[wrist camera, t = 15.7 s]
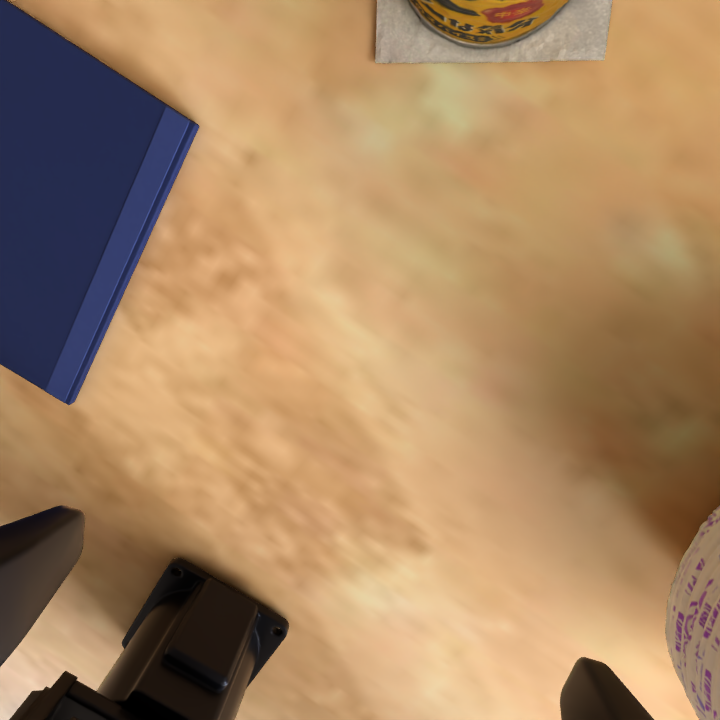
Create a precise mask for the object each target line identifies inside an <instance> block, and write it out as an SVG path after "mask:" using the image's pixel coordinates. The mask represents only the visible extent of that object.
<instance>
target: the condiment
mask: <svg viewBox="0 0 720 720" xmlns="http://www.w3.org/2000/svg"><path fill="white" fill-rule="evenodd" d="M611 7H612V0H377V26H376V57H375V63H487V62H538V61H545V62H547V61H553V60H555V61H576V60H604V59H605V52H606V45H607V37H608V30H609V22H610V15H611Z"/></svg>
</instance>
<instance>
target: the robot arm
mask: <svg viewBox="0 0 720 720" xmlns="http://www.w3.org/2000/svg"><path fill="white" fill-rule="evenodd" d="M84 525H85V515H84V513H83V512H82V511H81V510H78V509H75V508H71V507H68V506H63V505H61V506H57V507H54V508H51V509H48V510H45V511H42V512H40V513H37V514H34V515H31V516H28V517H25V518H23V519H20V520H17V521H14V522H11V523H9V524H6V525H3V526H0V667H1V665H2V664H3V663H4V662H5V661H6V659H7V658H8V657H9V656H10V655H11V653H12V652H13V651H14V650H15V648H16V647H17V646H18V645H19V643H20V642H21V641H22V640H23V638H24V637H25V635H26V634H27V633H28V631H29V630H30V629H31V627H32V626H33V624H34V623H35V622H36V620H37V619H38V617H39V616H40V614H41V613H42V611H43V610H44V609H45V607H46V606H47V604H48V603H49V601H50V600H51V599H52V597H53V596H54V594H55V593H56V591H57V590H58V588H59V587H60V586H61V584H62V583H63V581H64V580H65V578H66V577H67V576H68V574H69V573H70V571H71V570H72V568H73V567H74V565H75V564H76V563H77V561H78V559H79V557H80V555H81V552H82V549H83V539H84ZM176 568H178V569H180V570H181V571H179V570H177V569H176ZM276 627H278V628H280V629H278V628H276ZM288 629H289V623H288V621H287V620H286V619H285V618H283V617H281V616H280V615H278V614H276V613H275V612H273V611H271V610H269V609H268V608H266V607H264V606H263V605H261V604H259V603H258V602H256V601H254V600H252V599H251V598H249V597H247V596H246V595H244V594H242V593H241V592H239V591H237V590H235V589H234V588H232V587H230V586H229V585H227V584H225V583H224V582H222V581H220V580H218V579H217V578H215V577H213V576H212V575H210V574H208V573H207V572H205V571H203V570H202V569H200V568H198V567H196V566H195V565H193V564H191V563H190V562H188V561H186V560H184V559H182V558H175V559H173V560H172V561H171V562H170V564H169V565H168V567H167V568H166V570H165V571H164V573H163V575H162V576H161V578H160V580H159V581H158V583H157V585H156V586H155V588H154V590H153V591H152V593H151V594H150V596H149V598H148V599H147V601H146V603H145V604H144V606H143V608H142V609H141V611H140V613H139V614H138V616H137V618H136V619H135V621H134V622H133V624H132V626H131V627H130V629H129V631H128V632H127V634H126V636H125V637H124V639H123V641H122V646H123V647H124V651H123V652H122V654H121V655H120V657H119V658H118V660H117V661H116V663H115V664H114V666H113V667H112V669H111V670H110V672H109V673H108V675H107V676H106V678H105V679H104V681H103V682H102V684H101V685H100V687H99V688H98V690H97V691H95V690H93V689H91V688H89V687H88V686H86V685H84V684H82V683H80V682H79V681H77V678H78V677H76V676H74V675H72V674H71V673H69V672H67V671H65V672H64V673H63V674H62V675H61V676H60V678H59V679H58V680H57V681H56V683H55V684H54V685H53V686H52V687H51V688H48V687H45V688H44V690H41V691H32V692H31V694H30V695H29V696H28V697H27V699H26V700H25V701H24V702H23V704H22V705H21V706H20V707H19V709H18V710H17V711H16V712H15V714H14V715H13V716H12V717H11V718H10V720H235V717H236V714H237V712H238V709H239V706H240V703H241V701H242V698H243V695H244V692H245V690H246V688H247V687H248V685H249V684H250V683H251V681H252V680H253V679H254V678H255V676H256V675H257V674H258V672H259V671H260V670H261V668H262V667H263V666H264V664H265V663H266V662H267V661H268V659H269V658H270V657H271V655H272V654H273V653H274V651H275V650H276V649H277V647H278V646H279V645H280V644H281V642H282V641H283V640H284V638H285V637H286V635H287V632H288ZM560 708H561V718H562V720H654V719H653V718H652V717H651V715H650V714H649V713H648V712H647V711H646V710H645V708H644V707H643V706H642V705H641V704H640V703H639V701H638V700H637V699H636V698H635V697H634V696H633V695H632V693H631V692H630V691H629V690H628V689H627V688H626V686H625V685H624V684H623V683H622V682H621V681H620V679H619V678H618V677H617V676H616V675H615V674H614V672H613V671H612V670H611V669H610V668H609V667H608V666H607V665H606V664H604V663H602V662H599V661H596V660H593V659H589V658H586V657H581V658H580V659H578V660H577V662H576V663H575V665H574V667H573V669H572V671H571V673H570V675H569V677H568V679H567V681H566V683H565V685H564V687H563V689H562V692H561V697H560Z"/></svg>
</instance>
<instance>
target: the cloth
mask: <svg viewBox="0 0 720 720" xmlns="http://www.w3.org/2000/svg"><path fill="white" fill-rule="evenodd" d="M198 128H199V125H198V124H196V123H195V122H193V121H192V120H190V119H188V118H187V117H185V116H184V115H182V114H181V113H179V112H178V111H176V110H175V109H173V108H172V107H170V106H168V105H167V104H165V103H164V102H162V101H161V100H159V99H158V98H156V97H155V96H153V95H152V94H150V93H148V92H147V91H145V90H144V89H142V88H141V87H139V86H138V85H136V84H135V83H133V82H131V81H130V80H128V79H127V78H125V77H124V76H122V75H121V74H119V73H118V72H116V71H115V70H113V69H111V68H110V67H108V66H107V65H105V64H104V63H102V62H101V61H99V60H98V59H96V58H95V57H93V56H91V55H90V54H88V53H87V52H85V51H84V50H82V49H81V48H79V47H78V46H76V45H75V44H73V43H71V42H70V41H68V40H67V39H65V38H64V37H62V36H61V35H59V34H58V33H56V32H55V31H53V30H51V29H50V28H48V27H47V26H45V25H44V24H42V23H41V22H39V21H38V20H36V19H35V18H33V17H31V16H30V15H28V14H27V13H25V12H24V11H22V10H21V9H19V8H18V7H16V6H14V5H13V4H11V3H10V2H8V1H7V0H0V364H1V365H3V366H4V367H6V368H8V369H9V370H11V371H13V372H14V373H16V374H18V375H19V376H21V377H23V378H24V379H26V380H28V381H29V382H31V383H33V384H34V385H36V386H38V387H39V388H41V389H43V390H44V391H45V392H47V393H49V394H50V395H52V396H54V397H55V398H57V399H59V400H60V401H62V402H64V403H66V404H68V405H70V404H72V403H73V402H75V399H76V397H77V395H78V393H79V391H80V388H81V386H82V384H83V382H84V380H85V377H86V375H87V373H88V371H89V369H90V366H91V364H92V362H93V360H94V358H95V355H96V353H97V351H98V349H99V347H100V344H101V342H102V340H103V338H104V335H105V333H106V331H107V329H108V327H109V324H110V322H111V320H112V318H113V316H114V313H115V311H116V309H117V307H118V305H119V302H120V300H121V298H122V296H123V294H124V291H125V289H126V287H127V285H128V283H129V280H130V278H131V276H132V274H133V271H134V269H135V267H136V265H137V263H138V260H139V258H140V256H141V254H142V252H143V249H144V247H145V245H146V243H147V241H148V238H149V236H150V234H151V232H152V230H153V227H154V225H155V223H156V221H157V219H158V216H159V214H160V212H161V210H162V207H163V205H164V203H165V201H166V199H167V196H168V194H169V192H170V190H171V188H172V185H173V183H174V181H175V179H176V177H177V174H178V172H179V170H180V168H181V166H182V163H183V161H184V159H185V157H186V155H187V152H188V150H189V148H190V146H191V143H192V141H193V139H194V137H195V135H196V132H197V130H198Z"/></svg>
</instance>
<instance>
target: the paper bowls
mask: <svg viewBox="0 0 720 720" xmlns="http://www.w3.org/2000/svg"><path fill="white" fill-rule="evenodd" d="M707 519H708V520H707V521H705V522H703V524H702V525H701V526H700V529H699V531H698V533H697V534H696V536H695V537H694V539H693V541H692V543H691V545H690V546H689V548H688V549H687V551H686V552H685V554H684V556H683V558H682V560H681V562H680V564H679V567H678V570H677V572H676V576H675V578H674V581H673V582H672V584H671V591H670V594H669V599H668V601H667V611H666V628H665V633H666V641H667V645H668V650H669V654H670V657H671V659H672V662H673V665H674V668H675V671H676V673H677V675H678V677H679V679H680V681H681V683H682V685H683V687H684V690H685V692H686V695H687V697H688V699H689V700H690V703H691V705H692V707H693V708H694V710H695V712H696V715H697V716H698V718H699V720H720V505H719V507H717V509H716V510H714V511H713V512H712V515H709V516H708V518H707Z"/></svg>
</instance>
